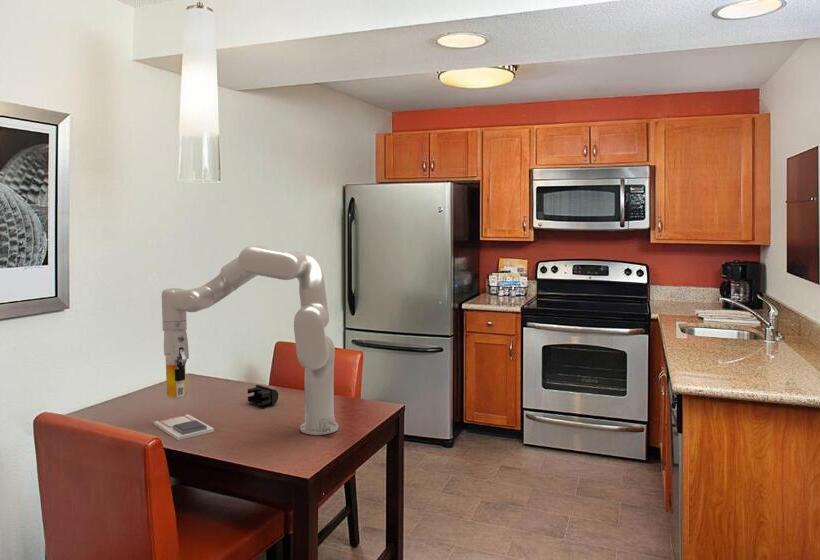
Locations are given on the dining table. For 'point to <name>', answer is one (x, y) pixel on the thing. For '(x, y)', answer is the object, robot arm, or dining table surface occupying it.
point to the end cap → (262, 397)
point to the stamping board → (183, 427)
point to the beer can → (174, 387)
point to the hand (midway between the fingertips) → (176, 378)
